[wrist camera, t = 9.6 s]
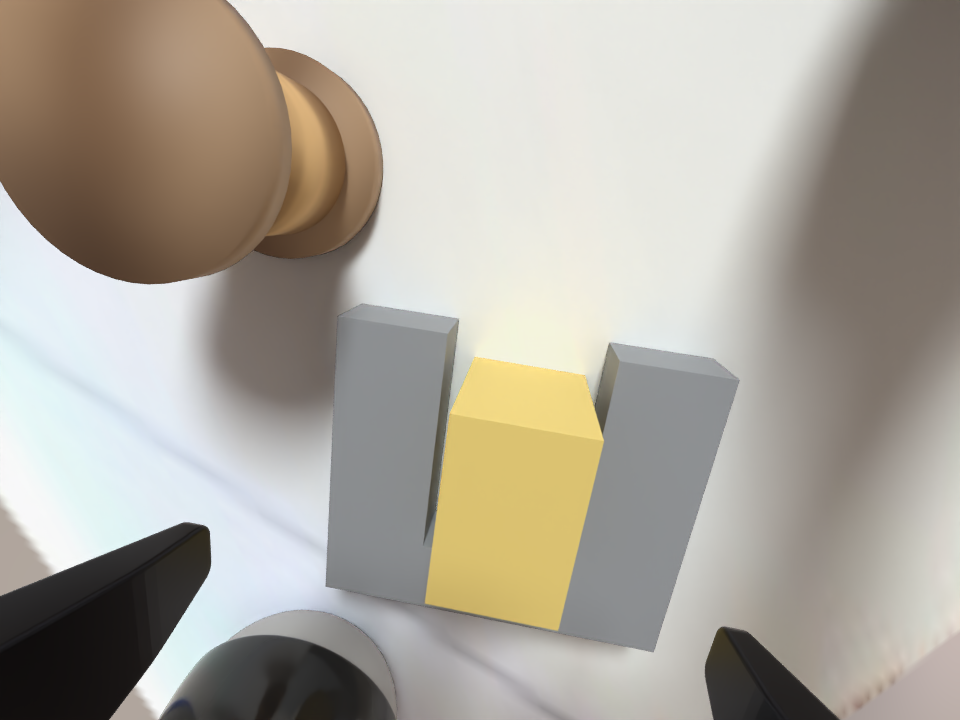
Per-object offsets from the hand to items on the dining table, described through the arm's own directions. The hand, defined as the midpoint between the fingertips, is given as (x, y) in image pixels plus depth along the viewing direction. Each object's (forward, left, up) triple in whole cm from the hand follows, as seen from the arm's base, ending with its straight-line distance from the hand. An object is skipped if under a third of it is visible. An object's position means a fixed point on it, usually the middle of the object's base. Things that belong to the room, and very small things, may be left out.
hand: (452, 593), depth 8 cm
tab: (-1, +3, -12) cm, 12 cm away
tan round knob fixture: (+9, -7, -12) cm, 17 cm away
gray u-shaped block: (-1, +4, -12) cm, 13 cm away
